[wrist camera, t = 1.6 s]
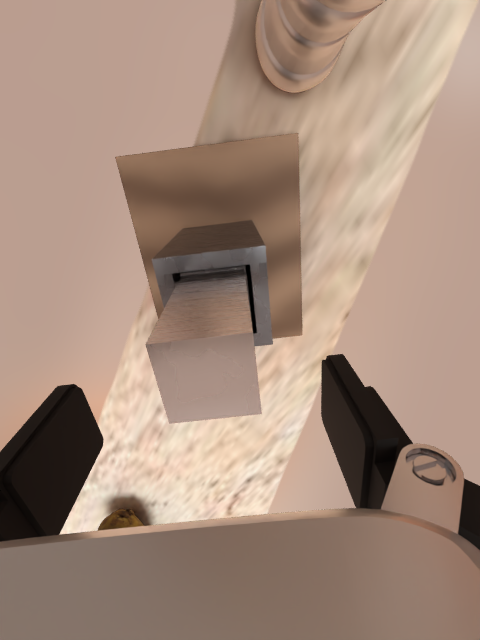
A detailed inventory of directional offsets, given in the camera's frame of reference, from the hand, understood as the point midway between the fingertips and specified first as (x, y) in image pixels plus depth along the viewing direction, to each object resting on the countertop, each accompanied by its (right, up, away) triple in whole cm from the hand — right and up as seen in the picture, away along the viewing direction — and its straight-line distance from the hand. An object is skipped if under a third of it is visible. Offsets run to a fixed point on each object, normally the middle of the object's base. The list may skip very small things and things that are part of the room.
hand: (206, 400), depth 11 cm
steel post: (-1, +9, +18) cm, 20 cm away
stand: (-1, +10, +19) cm, 22 cm away
